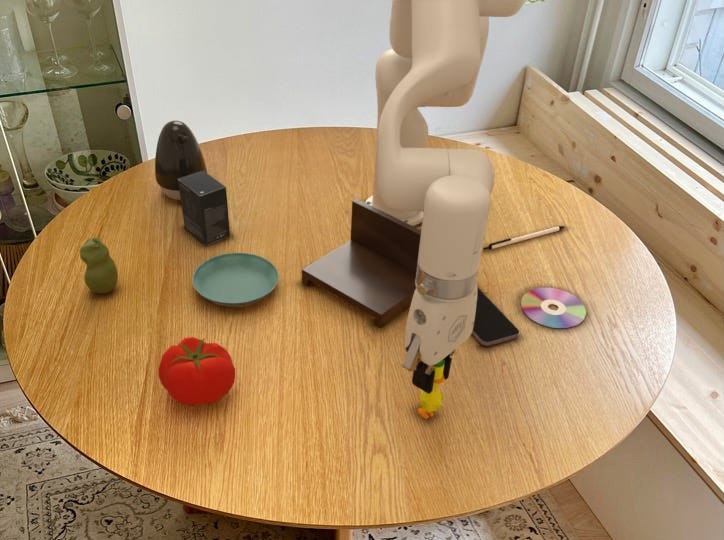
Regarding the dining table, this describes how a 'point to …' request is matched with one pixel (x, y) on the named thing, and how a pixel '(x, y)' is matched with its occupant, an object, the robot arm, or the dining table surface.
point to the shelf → (371, 265)
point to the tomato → (196, 372)
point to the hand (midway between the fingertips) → (430, 380)
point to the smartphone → (491, 323)
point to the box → (204, 207)
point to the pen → (523, 237)
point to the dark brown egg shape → (176, 157)
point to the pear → (98, 266)
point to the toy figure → (432, 393)
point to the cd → (564, 317)
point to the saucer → (235, 279)
